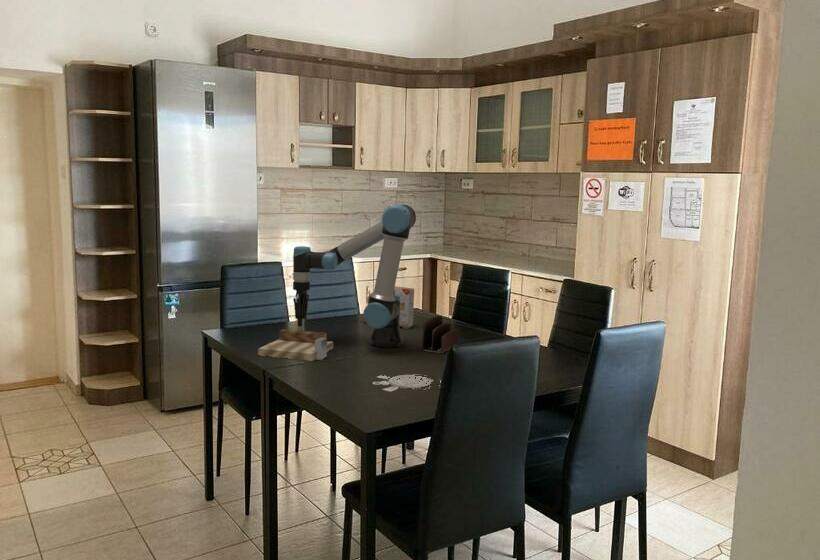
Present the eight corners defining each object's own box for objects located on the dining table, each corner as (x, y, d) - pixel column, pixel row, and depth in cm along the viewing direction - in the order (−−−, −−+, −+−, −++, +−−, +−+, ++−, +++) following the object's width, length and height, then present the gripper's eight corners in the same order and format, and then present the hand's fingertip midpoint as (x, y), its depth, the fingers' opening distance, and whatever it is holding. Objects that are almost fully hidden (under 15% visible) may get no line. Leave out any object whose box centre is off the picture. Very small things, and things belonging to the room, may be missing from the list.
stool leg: (328, 342, 293) (328, 331, 292) (324, 344, 289) (324, 333, 288) (283, 337, 298) (283, 327, 297) (279, 339, 294) (279, 329, 293)
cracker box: (384, 326, 347) (385, 286, 345) (389, 324, 353) (391, 285, 350) (407, 329, 341) (409, 289, 338) (413, 327, 346) (414, 287, 344)
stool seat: (333, 348, 294) (333, 341, 294) (312, 361, 271) (312, 354, 271) (283, 343, 300) (283, 337, 300) (258, 355, 277) (258, 348, 277)
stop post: (326, 356, 279) (327, 338, 278) (321, 360, 274) (321, 341, 273) (319, 356, 280) (320, 337, 279) (314, 359, 274) (314, 340, 273)
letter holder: (421, 351, 295) (422, 320, 294) (439, 343, 313) (441, 313, 311) (441, 354, 291) (443, 323, 289) (459, 346, 309) (460, 316, 307)
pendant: (454, 392, 238) (454, 388, 238) (376, 393, 233) (376, 389, 233) (440, 375, 259) (440, 372, 259) (368, 377, 254) (368, 373, 254)
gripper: (299, 278, 305) (298, 329, 308) (287, 282, 293) (287, 334, 296) (314, 279, 304) (313, 330, 307) (303, 283, 291) (303, 336, 294)
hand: (300, 332), depth 301 cm, fingers closed
